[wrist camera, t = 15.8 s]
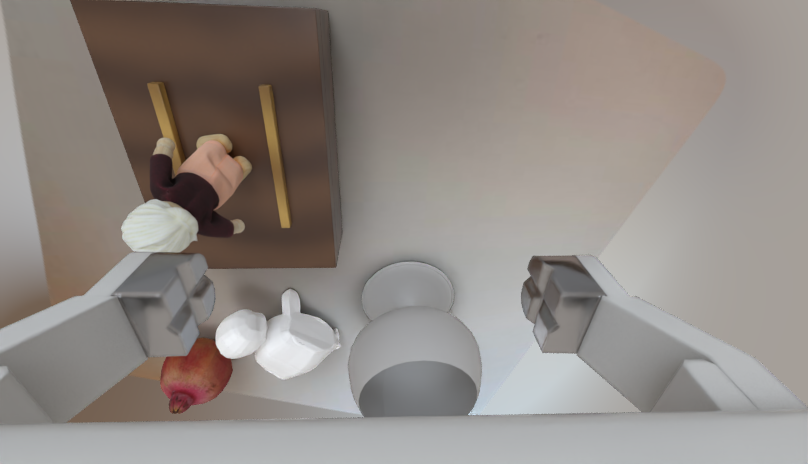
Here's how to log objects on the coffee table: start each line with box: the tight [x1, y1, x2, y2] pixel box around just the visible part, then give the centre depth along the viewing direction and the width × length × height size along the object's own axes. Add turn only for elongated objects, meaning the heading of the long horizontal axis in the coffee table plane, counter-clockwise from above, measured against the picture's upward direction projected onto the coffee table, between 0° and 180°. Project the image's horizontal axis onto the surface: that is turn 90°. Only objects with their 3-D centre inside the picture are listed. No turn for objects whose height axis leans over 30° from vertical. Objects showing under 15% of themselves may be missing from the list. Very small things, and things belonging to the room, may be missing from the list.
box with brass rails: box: [70, 0, 342, 269], centre depth 32 cm, size 22×16×8 cm
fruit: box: [160, 338, 233, 414], centre depth 45 cm, size 8×8×10 cm
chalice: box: [348, 262, 482, 417], centre depth 41 cm, size 14×14×15 cm
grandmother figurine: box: [121, 134, 252, 252], centre depth 24 cm, size 8×4×13 cm, turn 40°
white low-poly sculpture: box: [216, 289, 341, 380], centre depth 44 cm, size 9×8×15 cm
